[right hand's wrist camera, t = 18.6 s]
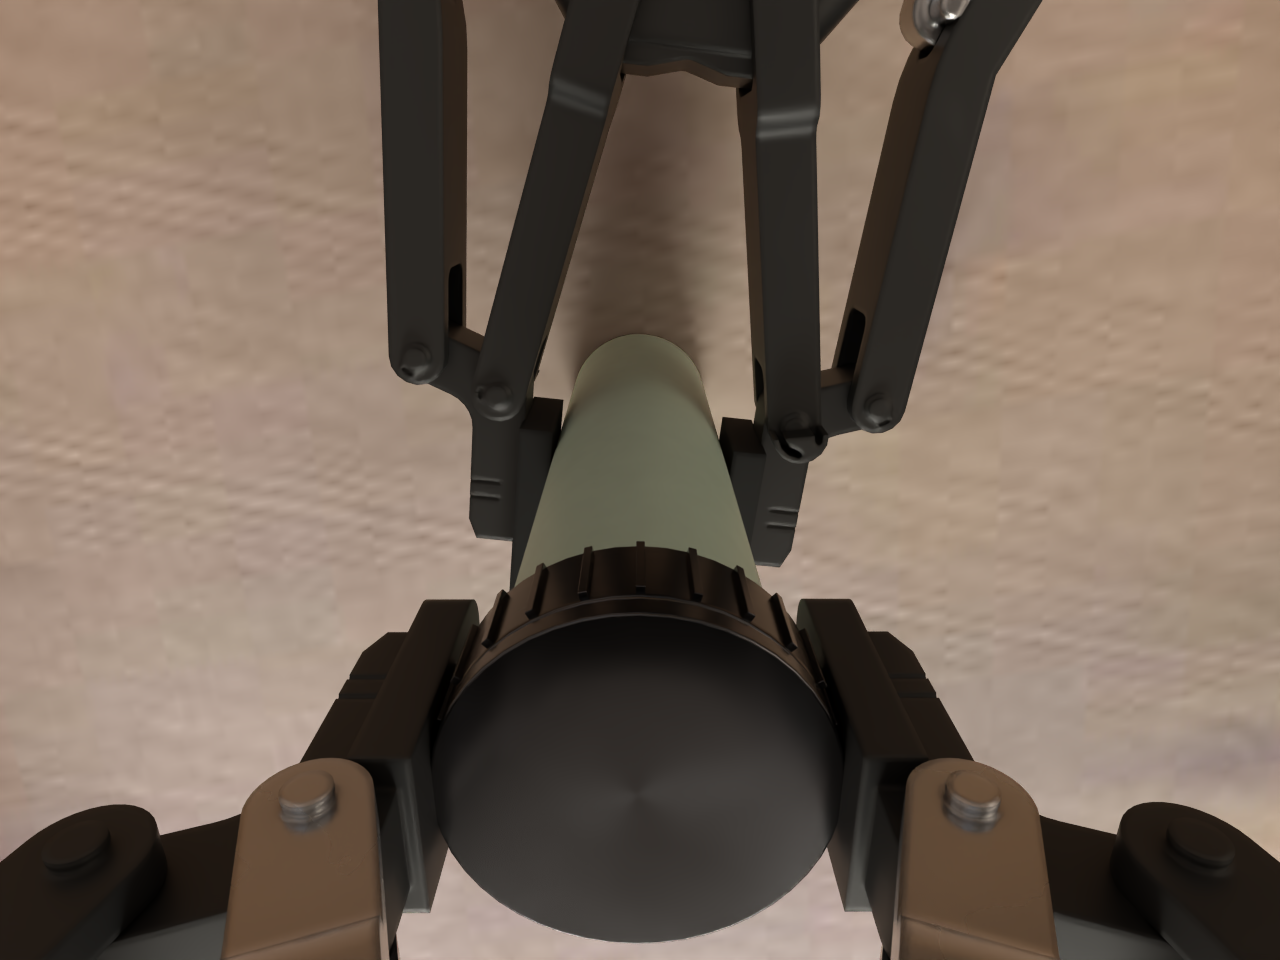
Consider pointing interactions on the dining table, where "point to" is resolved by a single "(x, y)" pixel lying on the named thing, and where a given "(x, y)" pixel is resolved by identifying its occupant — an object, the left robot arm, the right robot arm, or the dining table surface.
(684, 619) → the lid
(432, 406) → the dining table surface
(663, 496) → the jar
